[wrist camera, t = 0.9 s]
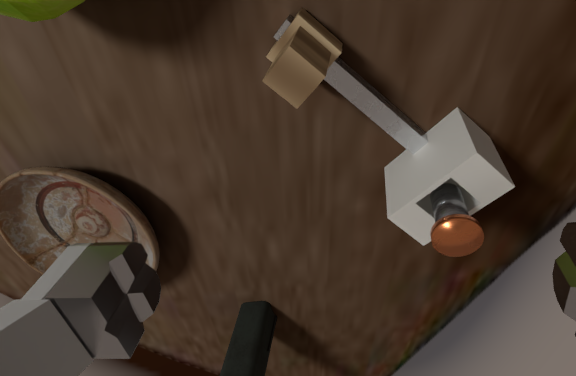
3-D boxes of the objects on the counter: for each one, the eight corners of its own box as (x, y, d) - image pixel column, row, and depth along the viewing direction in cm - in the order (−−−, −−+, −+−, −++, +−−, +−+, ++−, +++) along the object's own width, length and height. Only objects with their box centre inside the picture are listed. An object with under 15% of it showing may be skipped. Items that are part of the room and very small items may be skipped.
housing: (457, 106, 40) (476, 152, 33) (489, 136, 42) (515, 186, 35) (384, 167, 46) (387, 218, 39) (414, 192, 47) (423, 245, 40)
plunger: (448, 170, 36) (461, 211, 31) (478, 195, 37) (494, 239, 32) (414, 195, 38) (420, 238, 33) (442, 218, 39) (453, 263, 34)
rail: (290, 14, 38) (286, 19, 36) (425, 133, 43) (428, 142, 41) (277, 31, 39) (273, 36, 37) (411, 145, 44) (413, 154, 42)
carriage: (302, 6, 37) (287, 33, 30) (343, 42, 38) (337, 76, 31) (272, 47, 39) (250, 80, 32) (311, 79, 41) (299, 119, 33)
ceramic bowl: (-13, 197, 60) (-40, 219, 56) (73, 118, 49) (47, 138, 45) (108, 291, 69) (92, 315, 65) (202, 242, 58) (190, 267, 54)
